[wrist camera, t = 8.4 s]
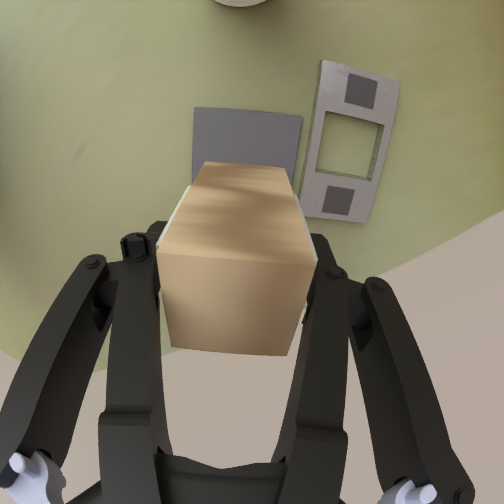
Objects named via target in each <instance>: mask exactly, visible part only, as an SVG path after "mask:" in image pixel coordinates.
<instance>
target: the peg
mask: <svg viewBox="0 0 504 504" xmlns="http://www.w3.org/2000/svg"><path fill="white" fill-rule="evenodd" d="M156 256H157V264H158V271H159V278H160V285H161V291H162V298H163V304H164V309H165V315H166V321H167V326H168V331H169V336H170V341H171V346H172V347H176V348H184V349H192V350H201V351H211V352H222V353H234V354H249V355H269V356H287V354H288V351H289V348H290V345H291V342H292V340H293V337H294V334H295V331H296V328H297V325H298V322H299V319H300V316H301V313H302V310H303V307H304V303H305V300H306V297H307V294H308V291H309V287H310V284H311V281H312V278H313V274H314V271H315V267H316V264H315V261H314V257H313V254H312V251H311V247H310V244H309V241H308V237H307V234H306V231H305V228H304V225H303V221H302V218H301V215H300V212H299V209H298V206H297V203H296V200H295V197H294V194H293V191H292V188H291V185H290V182H289V179H288V176H287V173H286V171H285V168H279V167H270V166H260V165H250V164H239V163H226V162H210V161H205V163H204V164H203V166H202V168H201V169H200V171H199V173H198V174H197V176H196V178H195V180H194V181H193V183H192V185H191V187H190V188H189V190H188V192H187V194H186V196H185V197H184V199H183V201H182V203H181V205H180V207H179V209H178V210H177V212H176V214H175V216H174V218H173V220H172V222H171V224H170V226H169V228H168V229H167V231H166V233H165V235H164V237H163V239H162V241H161V243H160V245H159V247H158V249H157V252H156Z"/></svg>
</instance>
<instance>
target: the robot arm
mask: <svg viewBox="0 0 504 504" xmlns="http://www.w3.org/2000/svg"><path fill="white" fill-rule="evenodd" d="M190 187H191V186H190V185H189V186H188V187H187V189H186V191H185V193H184V194H183V196H182V198H181V199H180V201H179V203H178V205H177V206H176V208H175V210H174V212H173V214H172V215H171V217H170V219H169V221H168V222H166V221H156V222H155V223H153V224H152V225H150V227H149V229H148V230H147V232H146V234H145V233H139V232H136V233H131V234H128V235H126V236H125V237H123V238H122V239H121V241H120V244H121V249H122V254H123V260H122V261H118V262H110V263H107V261H106V258H105V257H104V256H103V255H100V254H93V255H89V256H87V257H85V258H84V259H83V260H82V261H81V262H80V263H79V265H78V266H77V267H76V269H75V270H74V272H73V273H72V275H71V276H70V278H69V279H68V281H67V282H66V284H65V285H64V287H63V288H62V290H61V291H60V293H59V294H58V296H57V298H56V299H55V301H54V302H53V304H52V306H51V307H50V309H49V311H48V312H47V314H46V316H45V317H44V319H43V321H42V323H41V324H40V326H39V328H38V330H37V332H36V334H35V335H34V337H33V339H32V341H31V343H30V345H29V347H28V349H27V351H26V353H25V355H24V357H23V359H22V361H21V363H20V365H19V367H18V370H17V372H16V374H15V376H14V379H13V381H12V383H11V385H10V388H9V391H8V393H7V395H6V398H5V400H4V403H3V406H2V408H1V412H0V487H1V488H3V489H4V490H5V491H6V492H7V493H8V494H9V495H10V496H11V498H12V499H13V500H14V501H15V502H16V503H17V504H64V503H63V500H62V494H61V492H62V488H64V487H65V486H66V479H65V477H64V476H63V475H62V472H61V470H60V468H61V467H62V465H63V463H64V460H65V458H66V456H67V453H68V450H69V446H70V444H71V440H72V436H73V432H74V429H75V425H76V421H77V418H78V415H79V411H80V408H81V405H82V401H83V398H84V395H85V392H86V389H87V386H88V383H89V380H90V377H91V375H92V372H93V369H94V366H95V364H96V361H97V358H98V356H99V353H100V350H101V348H102V345H103V343H104V340H105V338H106V335H107V333H108V330H109V328H110V326H111V323H112V328H111V336H110V345H109V356H108V368H107V385H106V408H105V411H104V412H102V413H101V414H100V416H99V422H98V440H99V442H98V445H99V465H100V478H101V480H100V481H98V482H97V483H96V484H94V485H93V486H91V487H90V488H88V489H87V490H85V491H84V492H83V493H81V494H80V495H78V496H77V497H75V498H74V499H72V500H71V501H69V502H68V503H66V504H346V503H345V502H343V501H342V500H341V499H340V498H339V497H340V491H341V486H342V481H343V475H344V468H345V461H346V454H347V446H348V436H347V433H346V432H345V431H344V430H343V418H344V408H345V396H346V383H347V366H348V365H347V364H348V337H349V339H350V343H351V347H352V350H353V355H354V358H355V363H356V367H357V371H358V376H359V380H360V384H361V389H362V393H363V398H364V403H365V408H366V413H367V418H368V423H369V428H370V433H371V439H372V445H373V451H374V458H375V464H376V469H377V475H378V479H379V482H380V485H381V488H382V490H383V492H384V494H383V496H382V497H381V499H380V500H379V501H378V503H377V504H473V501H474V498H475V489H474V486H473V484H472V482H471V480H470V479H469V476H468V475H467V473H466V471H465V469H464V468H463V466H462V465H461V463H460V461H459V459H458V458H457V456H456V454H455V453H454V451H453V449H452V448H451V444H450V440H449V436H448V432H447V429H446V425H445V422H444V418H443V415H442V411H441V408H440V405H439V402H438V399H437V396H436V393H435V390H434V387H433V384H432V381H431V379H430V376H429V373H428V371H427V368H426V365H425V363H424V360H423V357H422V355H421V352H420V350H419V347H418V345H417V343H416V340H415V338H414V336H413V333H412V331H411V329H410V326H409V324H408V322H407V320H406V318H405V315H404V313H403V311H402V309H401V307H400V305H399V303H398V300H397V298H396V296H395V294H394V292H393V290H392V288H391V287H390V285H389V284H388V283H387V282H386V281H384V280H383V279H381V278H378V277H369V278H367V279H366V281H365V283H364V284H363V283H360V282H356V281H353V280H351V279H349V278H348V275H347V273H346V272H345V270H344V269H342V268H341V267H339V266H337V264H336V261H335V258H334V256H333V253H332V252H331V248H330V247H329V243H328V241H327V239H326V238H325V237H324V236H323V235H322V234H313V233H309V229H308V226H307V223H306V220H305V218H304V215H303V212H302V209H301V206H300V203H299V200H298V197H297V195H294V197H295V200H296V203H297V206H298V209H299V212H300V215H301V218H302V221H303V225H304V228H305V231H306V234H307V237H308V241H309V244H310V247H311V251H312V254H313V257H314V261H315V264H316V267H315V271H314V274H313V278H312V281H311V284H310V287H309V291H308V294H307V297H306V299H307V304H308V306H307V309H306V312H305V315H304V318H303V321H302V324H303V328H302V335H301V339H300V345H299V350H298V355H297V360H296V366H295V370H294V375H293V381H292V384H291V389H290V393H289V398H288V402H287V407H286V412H285V415H284V419H283V423H282V427H281V431H280V435H279V439H278V443H277V446H276V449H275V451H274V454H273V457H272V459H271V462H270V463H254V464H249V465H243V466H238V467H233V468H226V469H218V468H214V467H211V466H208V465H205V464H202V463H200V462H197V461H194V460H191V459H188V458H186V457H181V456H175V455H173V452H172V447H171V444H170V440H169V436H168V429H167V421H166V412H165V403H164V392H163V379H162V365H161V344H160V300H159V294H158V293H159V290H160V288H161V285H160V278H159V271H158V264H157V256H156V252H157V249H158V247H159V245H160V243H161V241H162V239H163V237H164V235H165V233H166V231H167V229H168V228H169V226H170V224H171V222H172V220H173V218H174V216H175V214H176V212H177V210H178V209H179V207H180V205H181V203H182V201H183V199H184V197H185V196H186V194H187V192H188V190H189V188H190ZM305 301H306V300H305ZM304 304H305V303H304Z"/></svg>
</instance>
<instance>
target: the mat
mask: <svg viewBox="0 0 504 504" xmlns="http://www.w3.org/2000/svg"><path fill="white" fill-rule="evenodd" d="M301 122H302V117H300V116H294V115H287V114H279V113H271V112H262V111H252V110H240V109H225V108H198V107H195V108H194V124H193V150H192V183H193V181H194V180H195V178H196V176H197V174H198V173H199V171H200V169H201V168H202V166H203V164H204V163H205V161H210V162H226V163H239V164H250V165H260V166H270V167H279V168H285V171H286V173H287V176H288V179H289V182H290V185H291V184H292V178H293V172H294V166H295V160H296V154H297V148H298V141H299V135H300V128H301Z"/></svg>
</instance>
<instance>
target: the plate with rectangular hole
mask: <svg viewBox="0 0 504 504" xmlns="http://www.w3.org/2000/svg"><path fill="white" fill-rule="evenodd" d="M399 89H400V82H397V81H395V80H392V79H389V78H386V77H383V76H381V75H378V74H374V73H371V72H368V71H365V70H362V69H358V68H355V67H351V66H347V65H343V64H340V63H335V62H331V61H327V60H320V65H319V72H318V79H317V86H316V93H315V100H314V107H313V113H312V120H311V126H310V132H309V138H308V144H307V150H306V156H305V162H304V168H303V173H302V179H301V184H300V190H299V195H298V200H299V203H300V206H301V209H302V212H303V215H304V216H307V217H316V218H324V219H333V220H341V221H349V222H357V223H364V224H366V223H367V220H368V217H369V213H370V210H371V207H372V204H373V200H374V197H375V194H376V190H377V187H378V183H379V179H380V176H381V172H382V168H383V164H384V160H385V156H386V152H387V148H388V144H389V140H390V135H391V131H392V126H393V121H394V116H395V111H396V106H397V100H398V95H399ZM325 111H330V112H335V113H339V114H344V115H348V116H352V117H356V118H360V119H364V120H368V121H372V122H376V123H379V129H378V133H377V138H376V142H375V147H374V151H373V156H372V160H371V164H370V168H369V172H368V176H367V178H365V177H360V176H355V175H350V174H344V173H338V172H332V171H326V170H320V169H315V168H316V162H317V157H318V152H319V146H320V141H321V135H322V129H323V123H324V117H325Z"/></svg>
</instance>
